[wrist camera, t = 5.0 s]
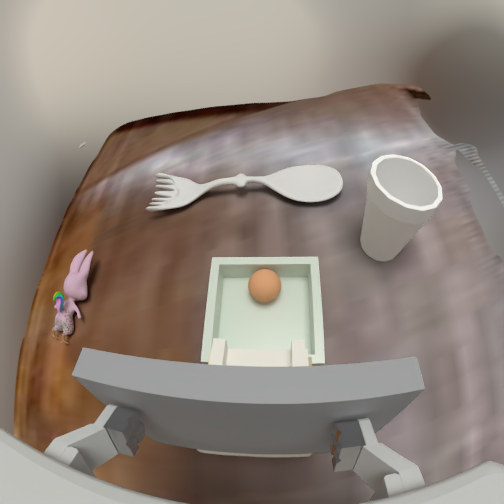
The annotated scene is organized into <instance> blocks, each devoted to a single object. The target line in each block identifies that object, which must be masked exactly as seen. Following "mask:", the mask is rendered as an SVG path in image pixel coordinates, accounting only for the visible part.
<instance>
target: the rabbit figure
mask: <svg viewBox="0 0 504 504" xmlns="http://www.w3.org/2000/svg"><path fill="white" fill-rule="evenodd" d="M86 252H87V250H84V251H82V252H80V253H79V254H77V255H76V256H75V258H74V259H73V261H72V263H71V266H70V273H69V275H68V276H67V277H66V279H65V282H64V292H65V294H66V295H67V296H68V300H67V301H64V296H63V294H62V293H61V292H56V293H55V294H54V297H53V301H54V300H55V299H56V305H55V306H54V308H55V309H57V311H58V313H57V314H56V316H55V326H54V328H53V329H52V331H53V336H51V337H53V338H58V337H56V336H55V332H56V331H63V334H62V336H63V341H61V342H63V343H66V344H69V343H68V342H66V341H65V339H64V337H65V336H66V335H70V334H72V333H73V331H74V323H73V314H74V312H75V311H76V312H77V316H78V318H79V319H81V314H80V311H79V309H78V307H77V306H76V305H75V301H78V300H85V299H86V298H87V277H88V274H89V270H90V264H91V259H92V256H93V251H91V252H90V254H89V255H88V256H87V257H86V258H85V259H84V257H85V254H86ZM83 259H84V261H83ZM82 262H83V263H82ZM63 306H64V309H63V310H62V307H63ZM58 339H59V338H58Z"/></svg>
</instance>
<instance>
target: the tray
mask: <svg viewBox="0 0 504 504" xmlns="http://www.w3.org/2000/svg"><path fill="white" fill-rule="evenodd" d="M261 269H269V270H272V271H273V272H275V273H276V274H277V275H278V276H279V278H280V280H281V291H280V293H279V295H278V296H277V297H276V298H275V299H274V300H272V301H269V302H260V301H257V300H256V299H254V298H253V297H252V296H251V294H250V292H249V289H248V282H249V279H250V277H251V276H252V274H253V273H255V272H256V271H258V270H261ZM213 338H219V339H226V342H227V346H228V348H229V349H291V342H292V340H294V339H304V341H305V349H308V357H312V366H323V364H324V363H325V356H324V334H323V316H322V301H321V287H320V275H319V264H318V257H212V264H211V272H210V280H209V288H208V297H207V306H206V315H205V324H204V334H203V344H202V354H201V362H202V363H203V364H208V360H209V356H210V355H211V349H212V344H213Z"/></svg>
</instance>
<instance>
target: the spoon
mask: <svg viewBox="0 0 504 504" xmlns="http://www.w3.org/2000/svg"><path fill="white" fill-rule="evenodd" d="M155 176H156V177H159V178H163V179H161V180H156V182H158V183H162V184H167V185H156V187H157V188H161V189H165V190H170V191H158V192H155V194H156V195H159V196H163V197H167V198H153V199H152V200H153V201H157V202H152V203H150V205H153V206H152V207H147V208H146V210H148V211H161V210H166V209H172V208H179V207H183V206H185V205H188V204H190V203H191V202H193V201H194V200H196V199H197V198H199V197H200V196H201V195H203V194H204V193H206V192H208V191H209V190H211V189H213V188H216V187H219V186H225V185H236V186H238V187H244V186H245V185H246V184H248V183H259V184H263V185H265V186H268V187H269V188H271V189H273V190H274V191H276V192H277V193H279V194H281V195H283V196H285V197H287V198H290V199H292V200H296V201H301V202H319V201H324V200H328V199H330V198H332V197H334V196H336V195H337V194H338V193H339V192H340V191H341V189H342V187H343V180H342V177H341V175H340V173H339V172H338V171H337V170H335V169H334V168H332V167H329V166H325V165H317V164H309V165H300V166H294V167H289V168H286V169H283V170H281V171H278V172H276V173H273V174H271V175H268V176H262V177H251V176H245V175H244V174H238V175H237V176H235V177H230V178H222V179H218V180H214V181H211V182H209V183H206V184H197V183H195V182H193V181H191V180H189V179H187V178H182V177H176V176H172V175H168V174H164V173H157V174H156V175H155Z"/></svg>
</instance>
